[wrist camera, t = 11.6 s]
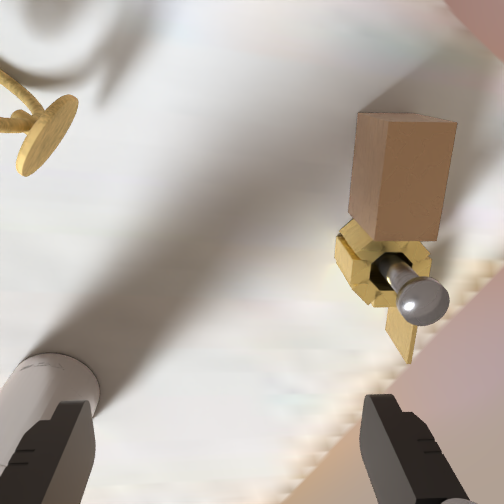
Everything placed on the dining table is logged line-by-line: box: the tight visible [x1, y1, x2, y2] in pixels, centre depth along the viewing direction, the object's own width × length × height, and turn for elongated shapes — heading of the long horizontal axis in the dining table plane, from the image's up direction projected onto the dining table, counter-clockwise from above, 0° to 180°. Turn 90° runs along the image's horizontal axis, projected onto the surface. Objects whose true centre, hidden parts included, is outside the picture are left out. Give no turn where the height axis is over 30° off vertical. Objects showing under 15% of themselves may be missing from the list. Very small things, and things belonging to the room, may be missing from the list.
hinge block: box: [334, 113, 457, 364], centre depth 40 cm, size 22×7×8 cm, turn 179°
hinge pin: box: [373, 252, 450, 326], centre depth 39 cm, size 4×4×12 cm
